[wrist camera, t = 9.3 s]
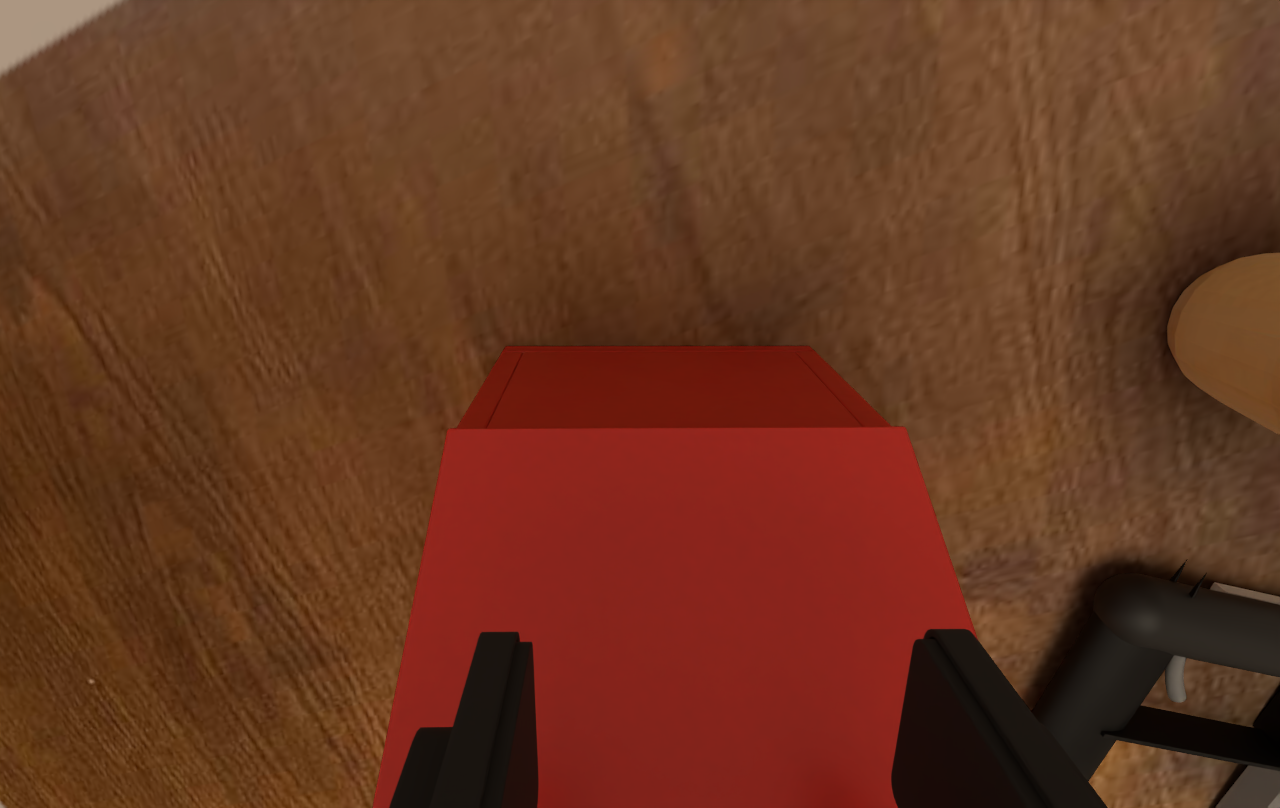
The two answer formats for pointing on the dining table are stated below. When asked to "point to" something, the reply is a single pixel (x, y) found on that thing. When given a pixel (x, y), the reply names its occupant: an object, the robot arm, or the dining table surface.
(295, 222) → the dining table surface
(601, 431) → the lid
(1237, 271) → the ice cream cone
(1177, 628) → the toy submachine gun
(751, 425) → the red tapered bin
